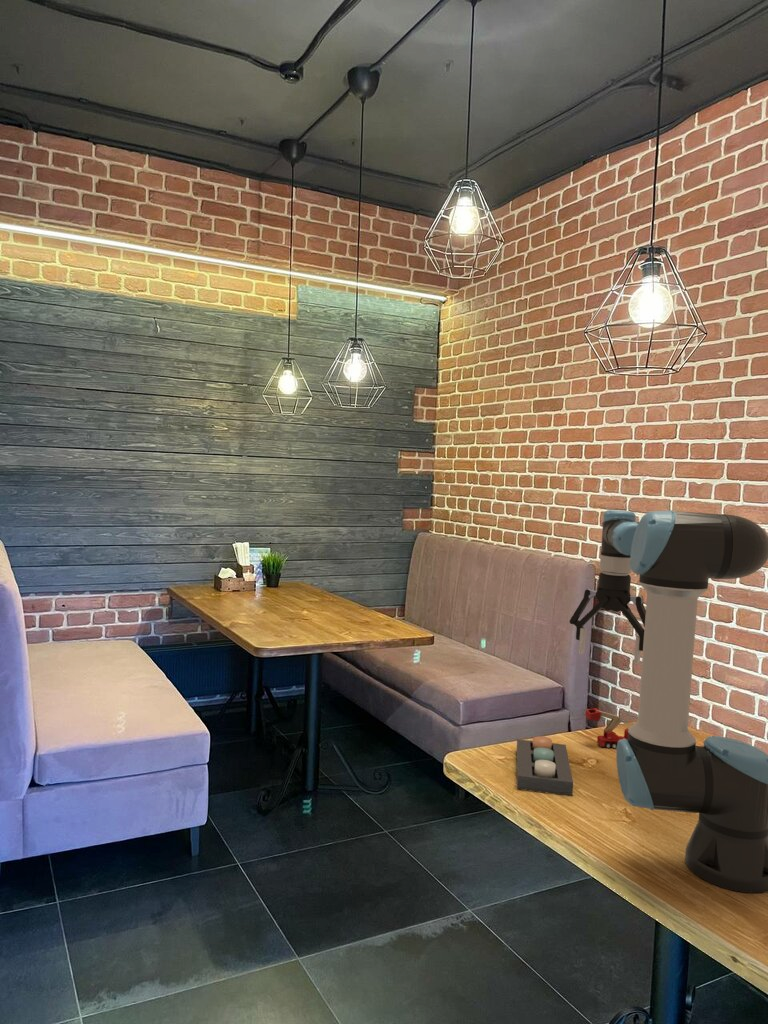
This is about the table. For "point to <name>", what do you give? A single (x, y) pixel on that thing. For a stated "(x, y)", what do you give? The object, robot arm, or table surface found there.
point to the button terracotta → (541, 742)
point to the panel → (544, 784)
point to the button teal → (543, 754)
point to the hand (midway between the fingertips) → (608, 658)
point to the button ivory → (544, 768)
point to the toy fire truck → (607, 728)
